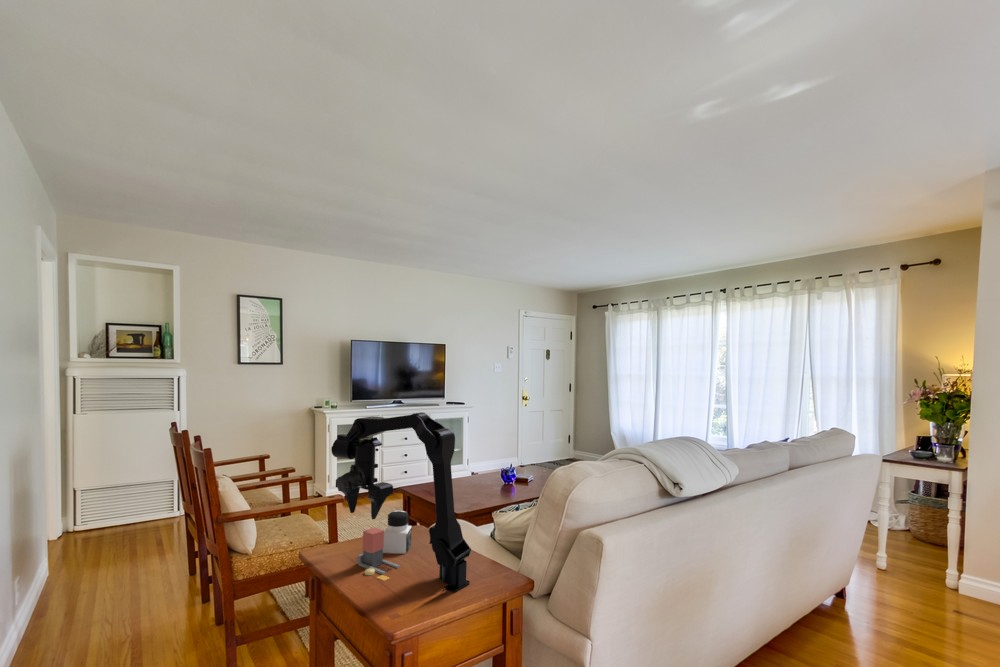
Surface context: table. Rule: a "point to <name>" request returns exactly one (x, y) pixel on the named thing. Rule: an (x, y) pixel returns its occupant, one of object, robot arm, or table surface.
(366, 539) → the pink block
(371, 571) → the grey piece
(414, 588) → the table surface
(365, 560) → the dark grey cube
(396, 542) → the medicine bottle
